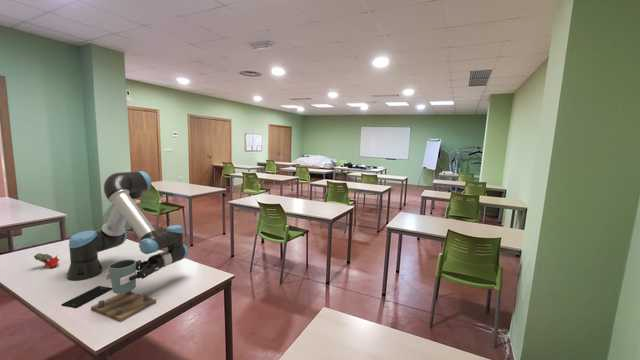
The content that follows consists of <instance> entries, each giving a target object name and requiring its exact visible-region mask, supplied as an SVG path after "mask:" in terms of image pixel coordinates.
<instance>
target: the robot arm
mask: <svg viewBox="0 0 640 360" xmlns="http://www.w3.org/2000/svg"><path fill="white" fill-rule="evenodd" d="M151 187H152V180H151V177H150V175H149V174H148V173H147V172H145V171H139V170H136V171H126V172H125V171H123V172H116V173H115V172H114V173H112V174H110V175H109V176H108V177H107V178H106V179H105V181H104V184H103V192H104V195H105V196H106V199H107V200H108V201H109V202H110V203H113V204H114V206H113V208H112V211H111V213H110V215H109V218H108V219H107V222H106V223H104V224H103V225H102V226H101V228H100V230H99V231H96V230H84V231H80V232H77V233H75V234H73V235H72V236H70V238H69V240H68V243H69V244H68V246H69V258H70V259H69V260H70V265H69V267H68V270H67V273H66V277H67V280H69V281H82V280H83V281H84V280H89V279H91V278H95V277H97V276H99V275H101V274H102V272H103V266H102V263H101V261H100V259H99V256H98V253H100V252H104V251H107V250H110V249H114V248H116V247H119V246H121V245H123V244H125V242H126V240H127V238H128V235H127V233H128V232H127V231H126V228H125V225H126V223H128V225H129V226H130V227H131V229H132V230H133V232H134V233H135V234H136V236H137V237H138V239H139V240H140V241H139V245H138V247H139V250H140V252H141V253H143V254H144V255H149V254H153V253H156V252H157V251H160V250H162V249H165V248H167V249H166V250H164V251H162V252H159V253H156V254H154V255H150V257H148V259H147V260H144V261H142V260H140V259H139V260H137V261H136V260H135V261H136V273H133V274H130V275H128V276H125V277H123V278H120V285H123V284H125V283H127V282H130V281H132V280H135V279H136V280H137V279H141V280H143V279H145V278H147V277H148V276H149V277H150V275H152V274H154V273H156V272H158V271H160V270H161V269H162V268H165V267H168V266H170V265H172V264H174V263H176V262H180V261H181V260H183V259H185V258H187V257H188V255H189V254H190V253H189V251H190V250H189V249H188V247H187V245H185V244H184V235H183V234H184V233H183V232H184V231H183V226H182V225H179V224H174V225H173V224H172V225H168V226H167V227H166V230H165V232H162V233H158V232H157V231H156V229H155V228H154V226H153V225H152V224H151V223H150V221H149V220H148V218H147V217H146V216H145V215H144V213H143V212H142V210H141V209H140V208H139V206H138V204H136V202H137V200H138V199H140V198H141V197H142V196H143V194H144V192H148V191H149V190H150V189H151ZM104 280H105V281H108V280H111V277H110V272H106V273H105V274H104Z"/></svg>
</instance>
